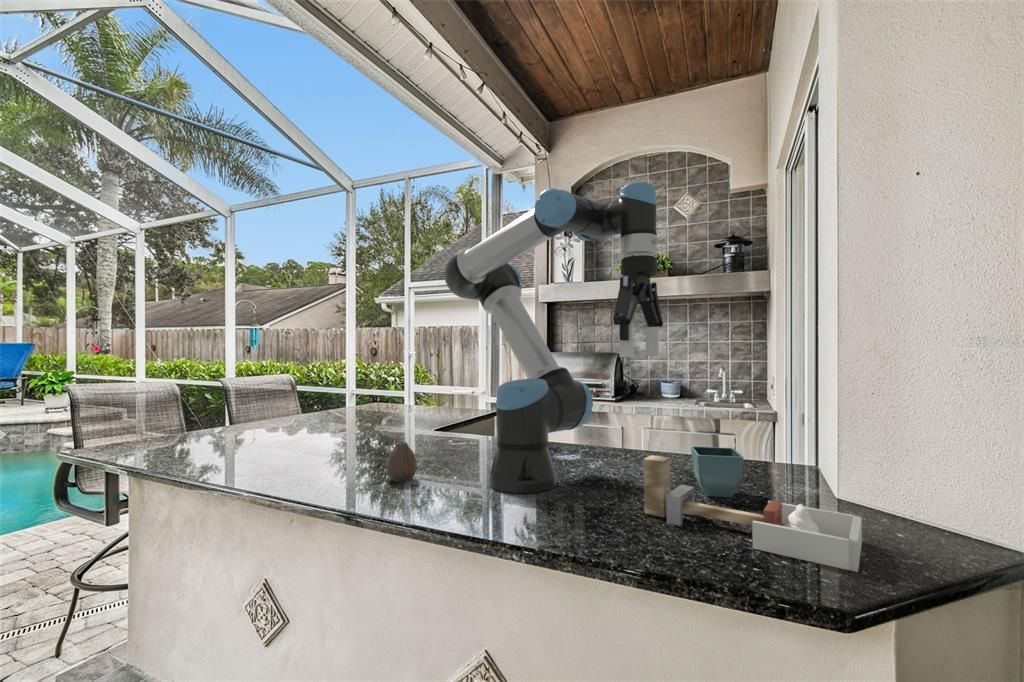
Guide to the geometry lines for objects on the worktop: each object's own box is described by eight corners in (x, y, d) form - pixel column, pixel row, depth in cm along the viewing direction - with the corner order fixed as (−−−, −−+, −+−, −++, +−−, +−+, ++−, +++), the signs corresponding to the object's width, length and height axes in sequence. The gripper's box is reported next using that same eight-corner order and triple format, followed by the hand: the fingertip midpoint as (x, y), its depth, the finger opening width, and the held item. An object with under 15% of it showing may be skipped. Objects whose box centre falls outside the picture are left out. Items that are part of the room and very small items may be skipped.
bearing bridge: (666, 523, 84) (666, 494, 84) (681, 511, 90) (681, 484, 90) (680, 526, 83) (680, 496, 83) (694, 514, 89) (694, 486, 89)
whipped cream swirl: (826, 512, 72) (785, 509, 73) (826, 552, 72) (786, 549, 73) (813, 501, 77) (775, 498, 78) (813, 538, 77) (776, 535, 78)
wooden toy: (641, 515, 88) (641, 459, 88) (654, 506, 92) (653, 454, 93) (775, 543, 74) (774, 478, 75) (782, 532, 79) (781, 470, 79)
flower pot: (745, 502, 95) (744, 456, 96) (698, 499, 97) (697, 454, 97) (734, 489, 104) (733, 447, 104) (691, 487, 106) (690, 446, 106)
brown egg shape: (403, 474, 118) (403, 438, 118) (423, 479, 114) (422, 441, 114) (380, 481, 113) (380, 443, 113) (400, 485, 109) (400, 446, 109)
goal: (752, 548, 73) (752, 521, 73) (769, 523, 83) (768, 500, 83) (858, 572, 65) (857, 542, 65) (862, 541, 75) (861, 516, 75)
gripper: (630, 245, 91) (632, 357, 91) (676, 263, 111) (677, 355, 110) (595, 250, 96) (596, 357, 95) (645, 266, 115) (646, 355, 115)
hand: (640, 356), depth 103 cm, fingers open, 13 cm apart
